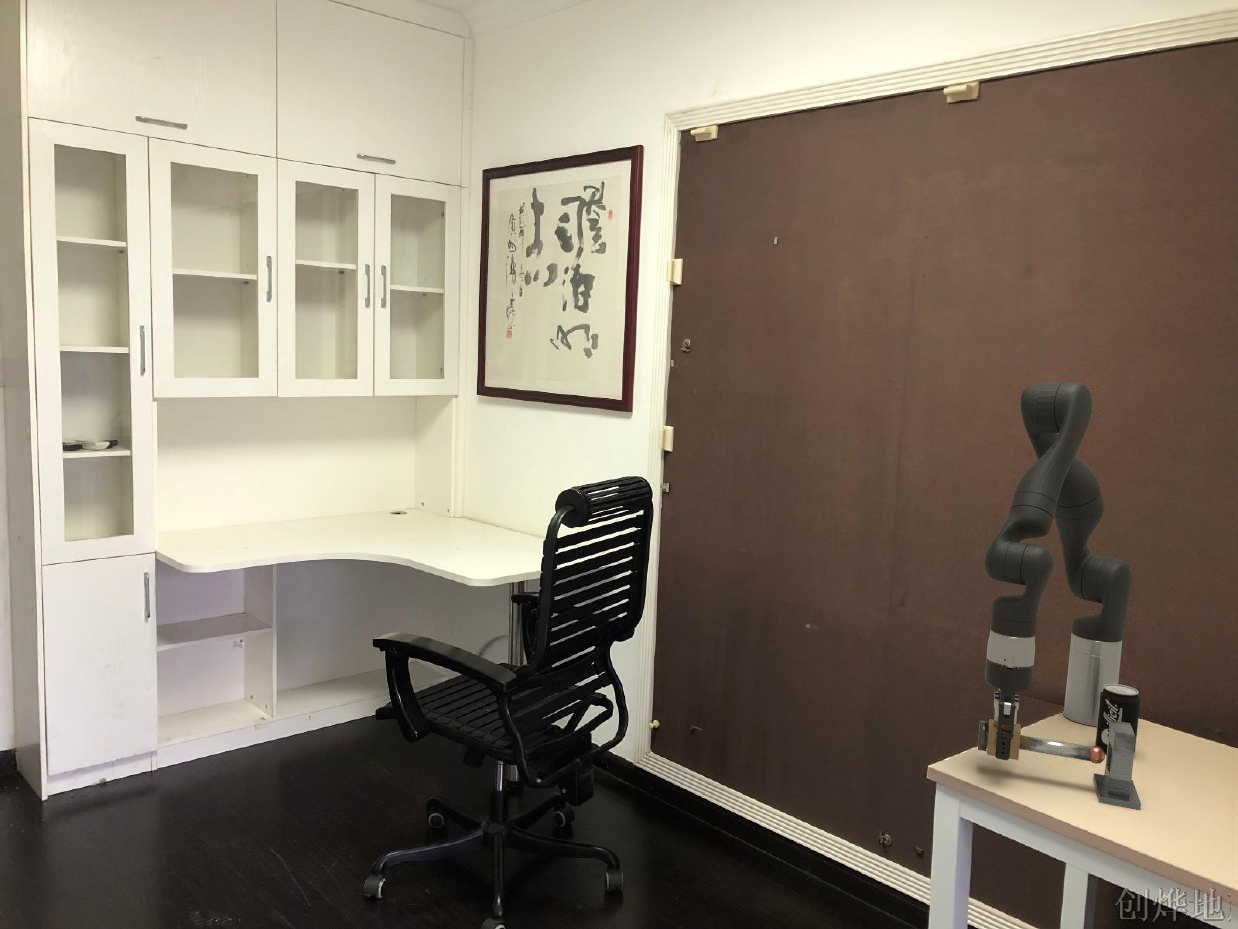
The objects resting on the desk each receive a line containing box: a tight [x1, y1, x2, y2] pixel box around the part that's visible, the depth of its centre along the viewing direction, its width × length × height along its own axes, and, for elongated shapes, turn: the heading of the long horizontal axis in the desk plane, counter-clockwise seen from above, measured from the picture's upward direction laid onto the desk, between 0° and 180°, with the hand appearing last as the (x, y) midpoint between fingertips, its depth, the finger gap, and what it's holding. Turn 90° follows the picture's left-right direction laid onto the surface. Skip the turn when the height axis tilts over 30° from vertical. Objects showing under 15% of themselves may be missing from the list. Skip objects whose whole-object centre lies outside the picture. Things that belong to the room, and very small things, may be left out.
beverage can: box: [1095, 683, 1141, 755], centre depth 178 cm, size 7×7×12 cm
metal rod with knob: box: [977, 718, 1106, 765], centre depth 164 cm, size 20×5×5 cm, turn 69°
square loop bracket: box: [1092, 720, 1142, 811], centre depth 160 cm, size 10×6×11 cm, turn 159°
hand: (1001, 749), depth 166 cm, fingers open, 8 cm apart
